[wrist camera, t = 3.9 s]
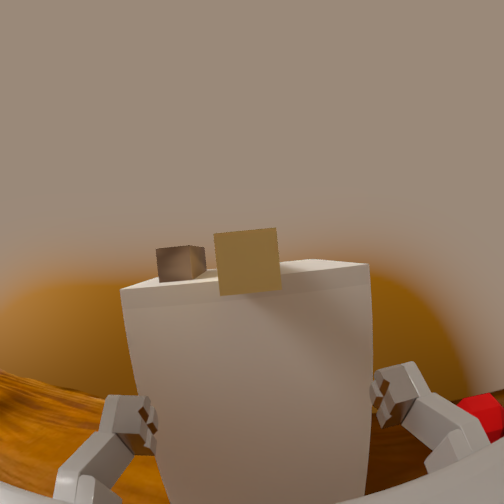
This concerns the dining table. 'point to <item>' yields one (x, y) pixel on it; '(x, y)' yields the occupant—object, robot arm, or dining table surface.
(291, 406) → the off-white stand
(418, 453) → the dining table surface
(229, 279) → the ochre bar
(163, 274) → the walnut bar
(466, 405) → the ball
